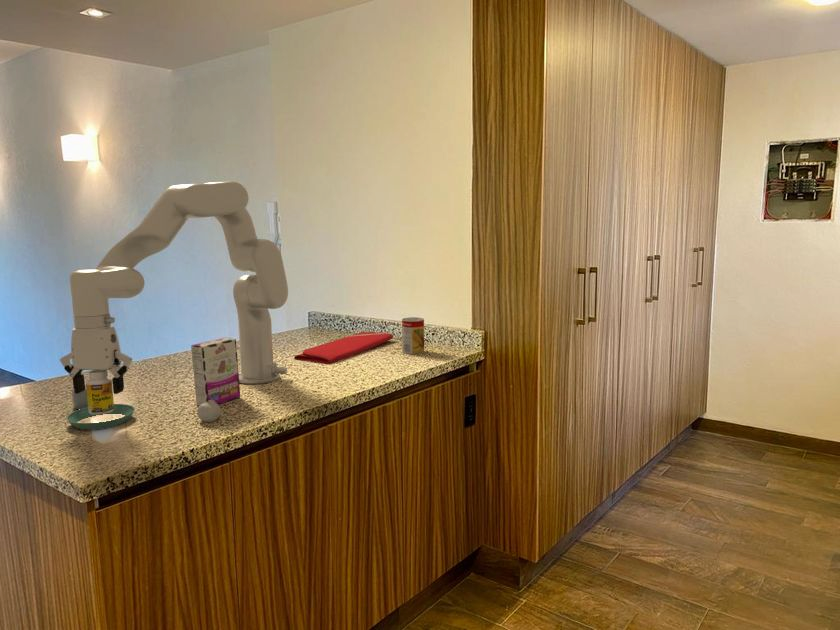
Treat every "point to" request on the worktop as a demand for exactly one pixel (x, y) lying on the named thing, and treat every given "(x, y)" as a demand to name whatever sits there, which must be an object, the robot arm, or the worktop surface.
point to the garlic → (209, 411)
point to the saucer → (84, 413)
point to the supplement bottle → (99, 393)
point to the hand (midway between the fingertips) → (99, 392)
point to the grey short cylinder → (80, 399)
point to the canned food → (413, 335)
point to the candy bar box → (216, 371)
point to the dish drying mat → (343, 347)
